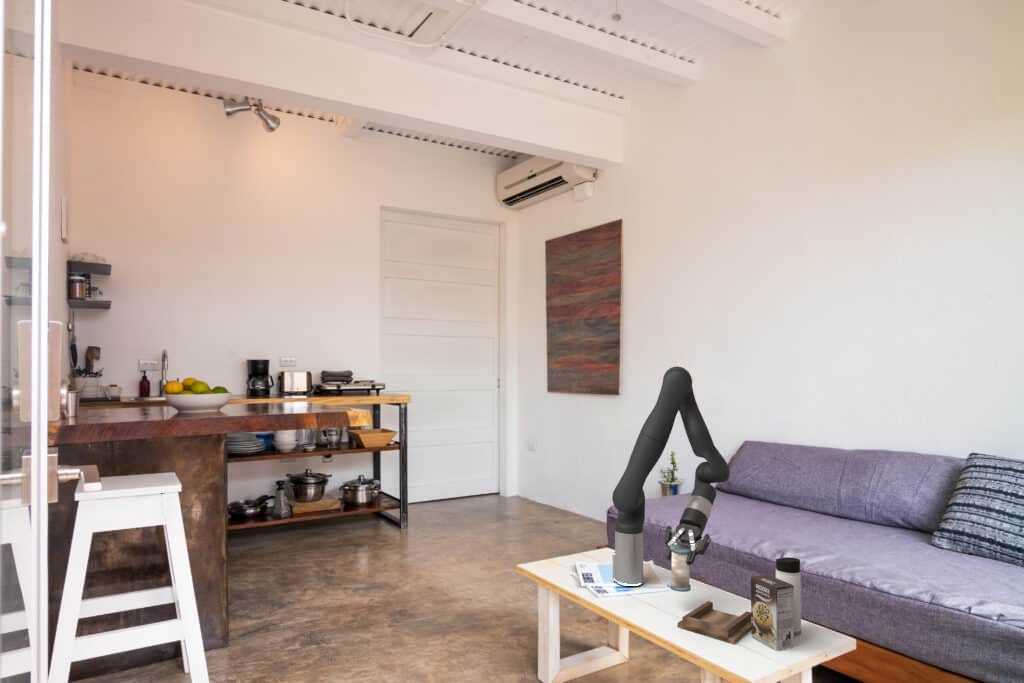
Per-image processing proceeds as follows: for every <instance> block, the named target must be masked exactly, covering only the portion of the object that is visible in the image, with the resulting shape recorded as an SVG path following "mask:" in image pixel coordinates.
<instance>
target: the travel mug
mask: <svg viewBox="0 0 1024 683" xmlns="http://www.w3.org/2000/svg"><path fill="white" fill-rule="evenodd" d="M801 577H802V576H801V560H800V558H795V557H785V556H784V557H781V558H776V559H775V578H777V579H780V580H782V581H785V582H787V583H789V584H792V585H794V637H796V636H800V635H801V634H802V588H801V586H802V584H801V581H802V580H801Z"/></svg>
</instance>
